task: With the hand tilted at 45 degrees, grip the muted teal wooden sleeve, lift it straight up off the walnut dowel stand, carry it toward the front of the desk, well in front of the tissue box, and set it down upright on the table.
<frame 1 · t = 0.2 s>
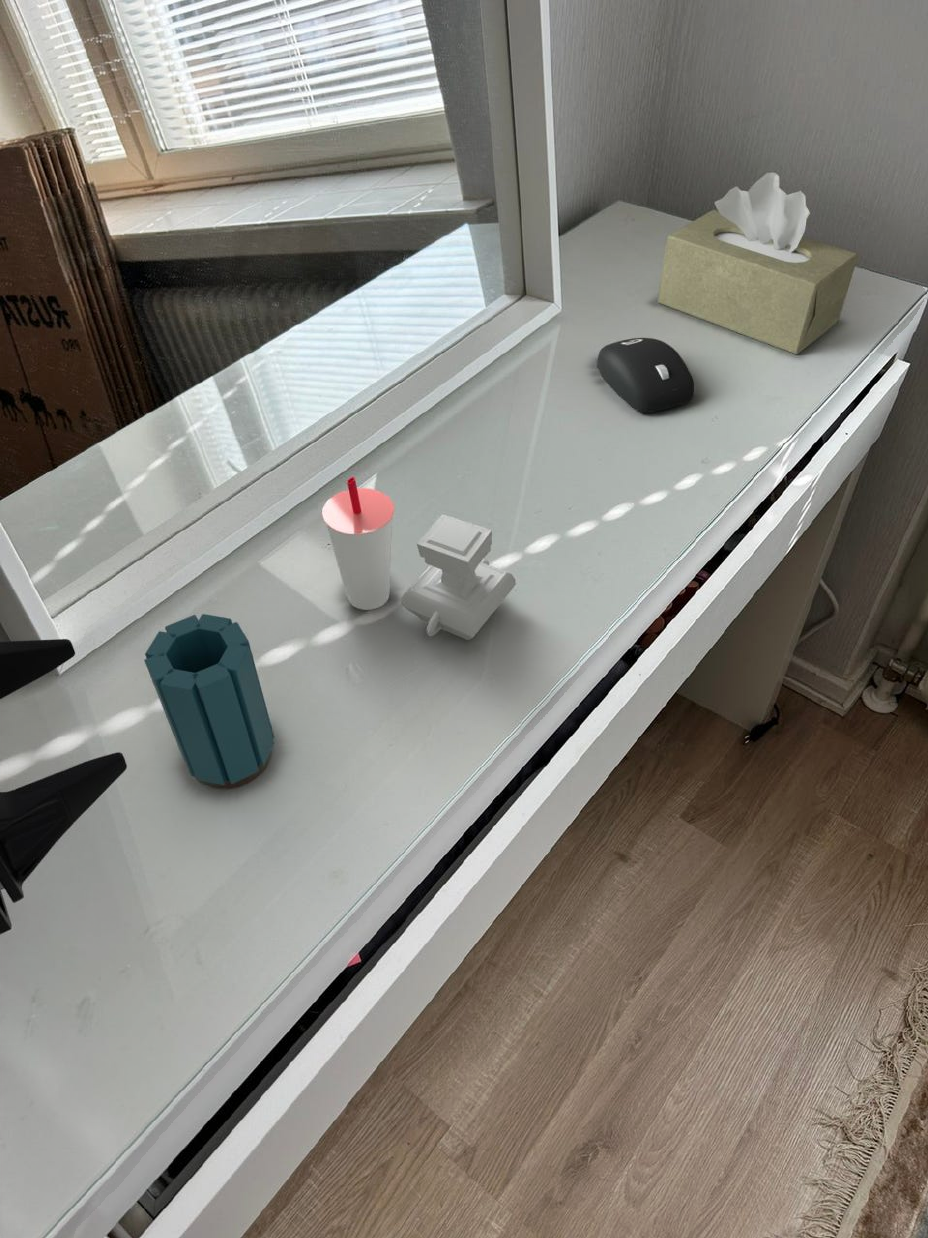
hand: (97, 700, 49), 14 cm above the table, tool horizontal, fingers open, 9 cm apart
stamp: (459, 618, 73), on the table
computer mouse: (639, 384, 97), on the table
dowel stand: (231, 755, 64), on the table
sleeve: (228, 747, 63), point 1 cm above the table, touching dowel stand
cup: (368, 596, 75), on the table
tissue box: (745, 314, 107), on the table
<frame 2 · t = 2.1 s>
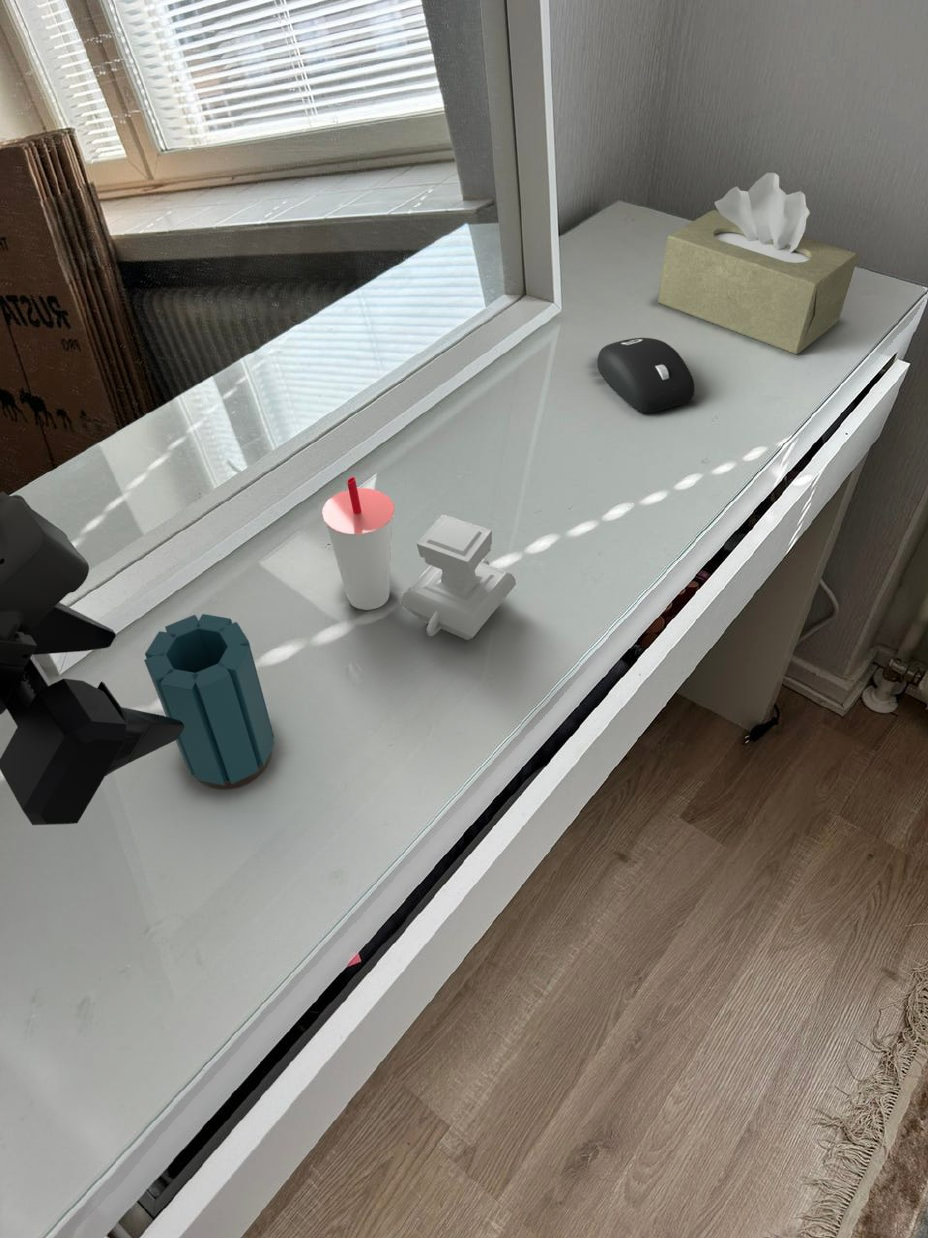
hand: (144, 682, 55), 11 cm above the table, tool tilted 45°, fingers open, 9 cm apart
nothing on the table moved.
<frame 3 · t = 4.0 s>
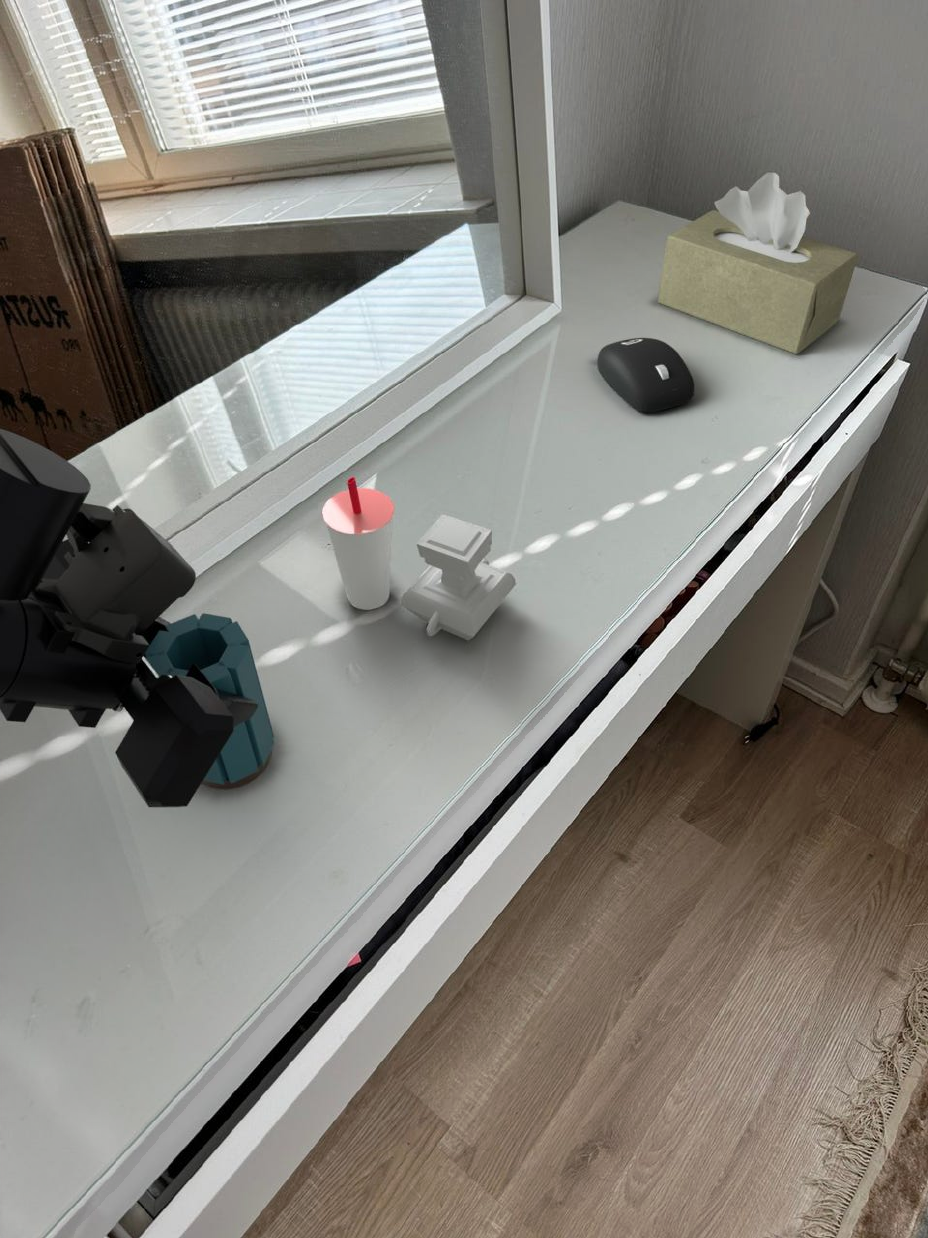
hand: (229, 680, 59), 7 cm above the table, tool tilted 45°, fingers closed on sleeve, 6 cm apart
sleeve: (228, 746, 63), point 1 cm above the table, touching dowel stand, gripper
everything else where it was.
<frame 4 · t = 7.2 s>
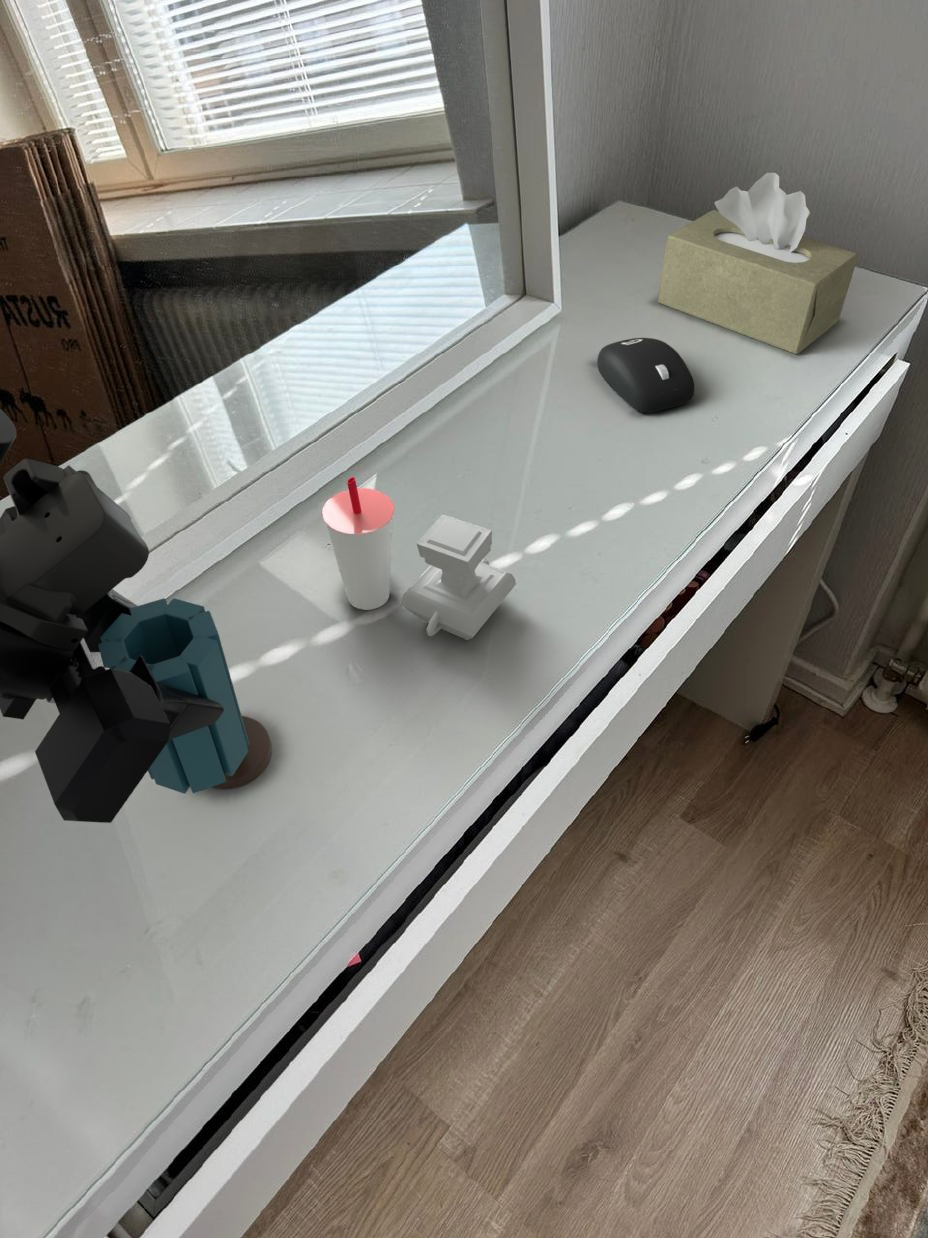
hand: (198, 677, 52), 13 cm above the table, tool tilted 45°, fingers closed on sleeve, 6 cm apart
sleeve: (197, 750, 56), point 7 cm above the table, touching gripper
everything else where it was.
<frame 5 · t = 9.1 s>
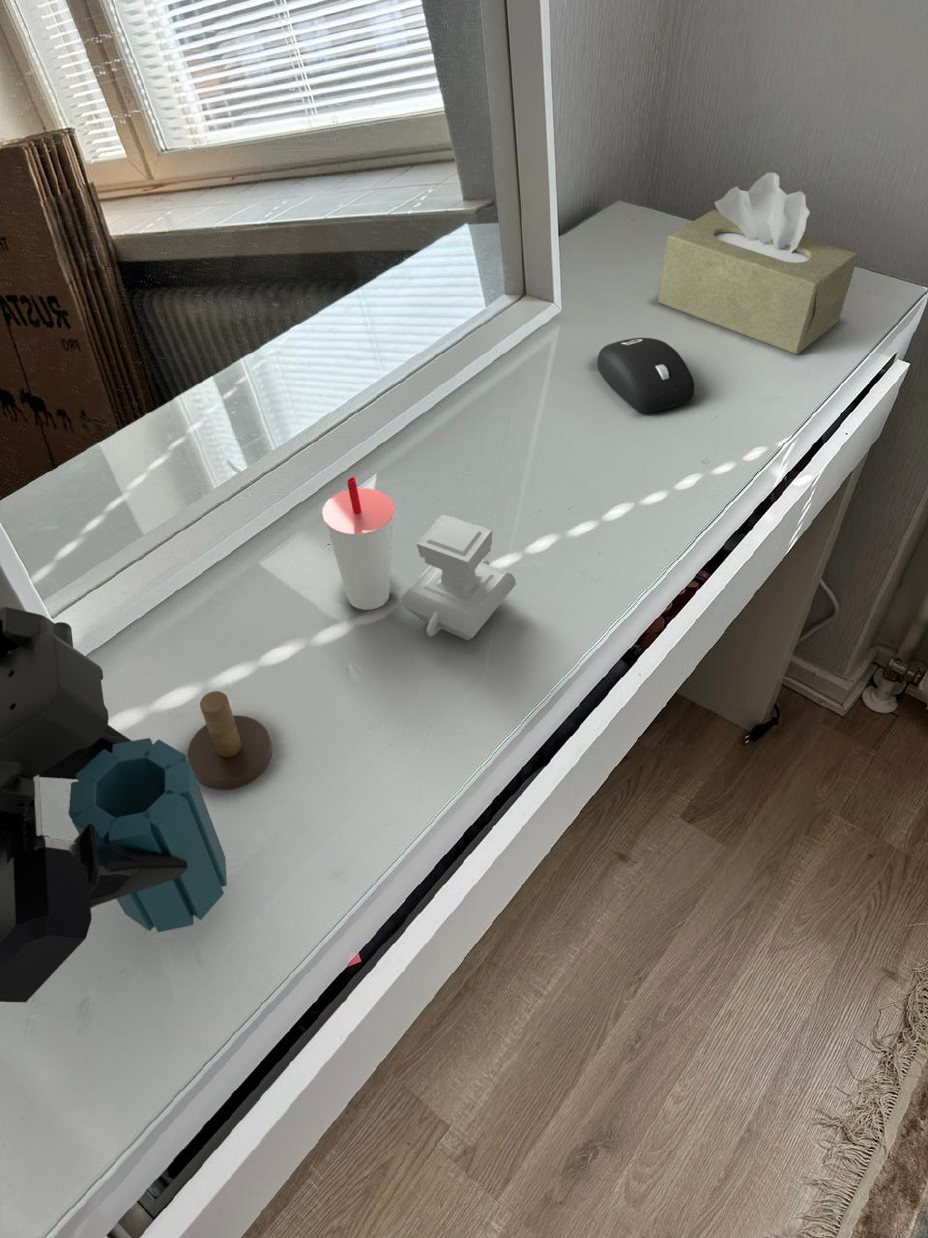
hand: (175, 820, 50), 9 cm above the table, tool tilted 45°, fingers closed on sleeve, 6 cm apart
sleeve: (174, 882, 54), point 3 cm above the table, touching gripper
everything else where it was.
when the fingers open (6 cm above the table, at t = 10.5 s): sleeve stays where it is, on the table.
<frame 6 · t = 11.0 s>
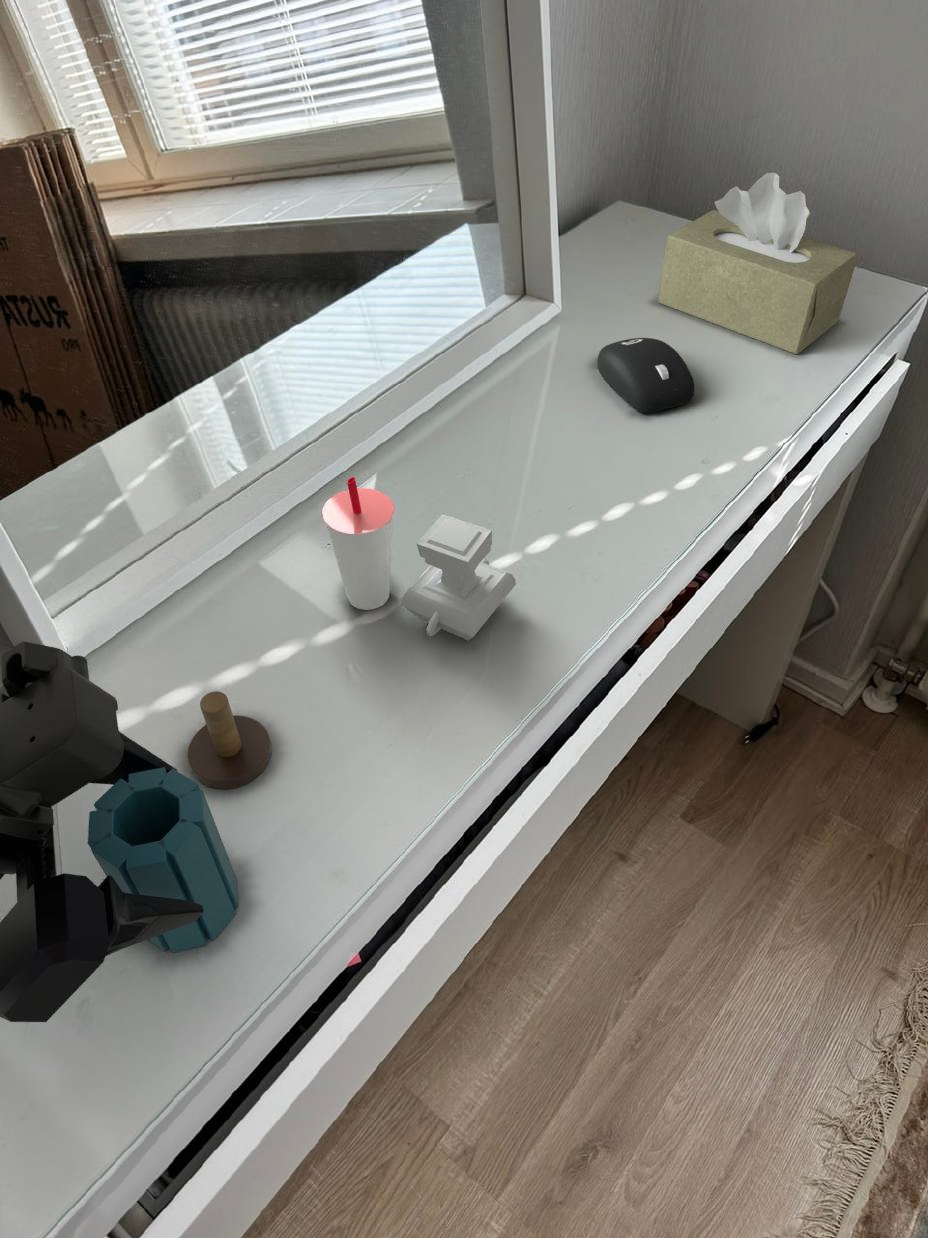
hand: (186, 842, 52), 7 cm above the table, tool tilted 45°, fingers open, 9 cm apart
sleeve: (188, 903, 56), on the table
everything else where it was.
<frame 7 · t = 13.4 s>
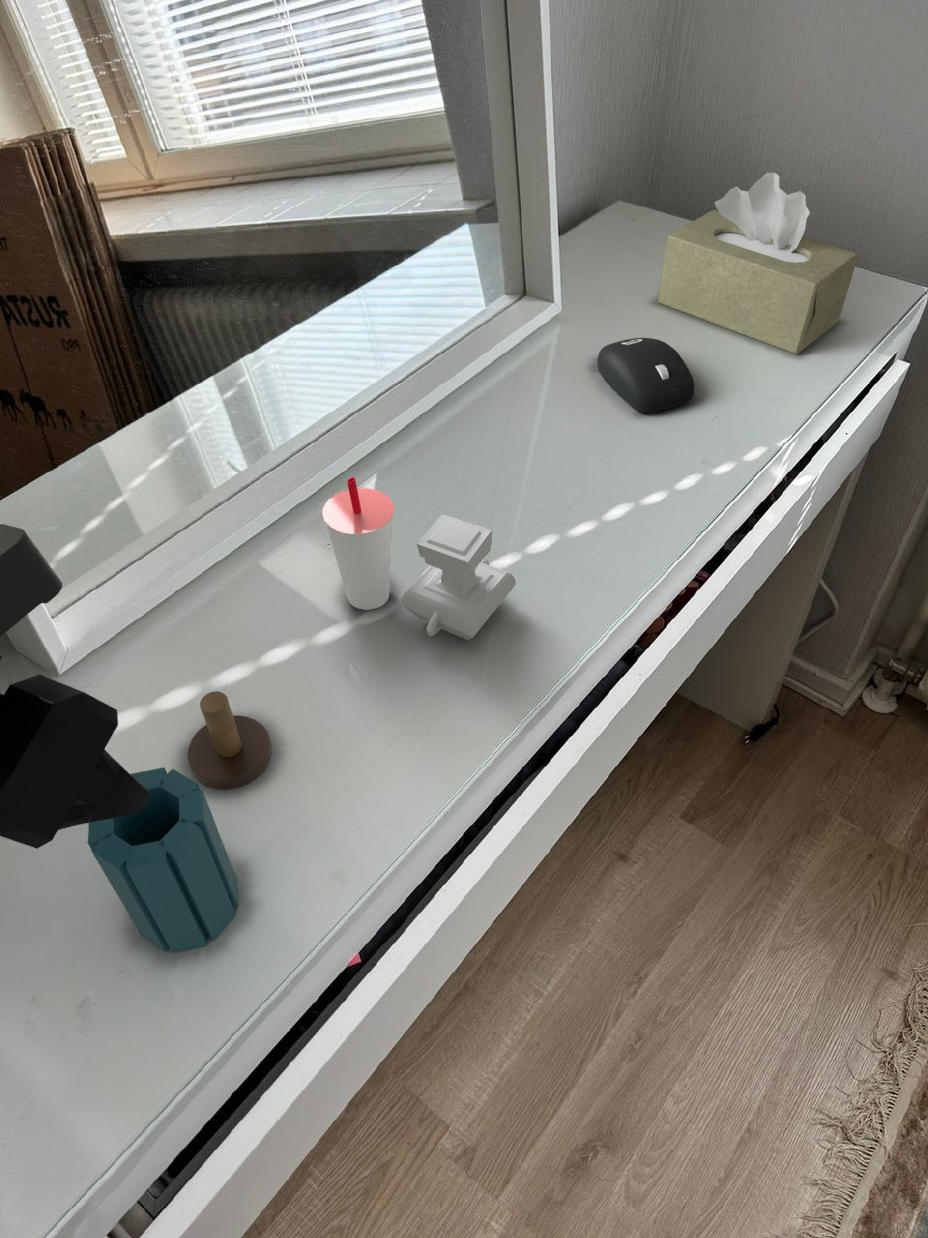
hand: (91, 777, 48), 12 cm above the table, tool tilted 30°, fingers open, 9 cm apart
nothing on the table moved.
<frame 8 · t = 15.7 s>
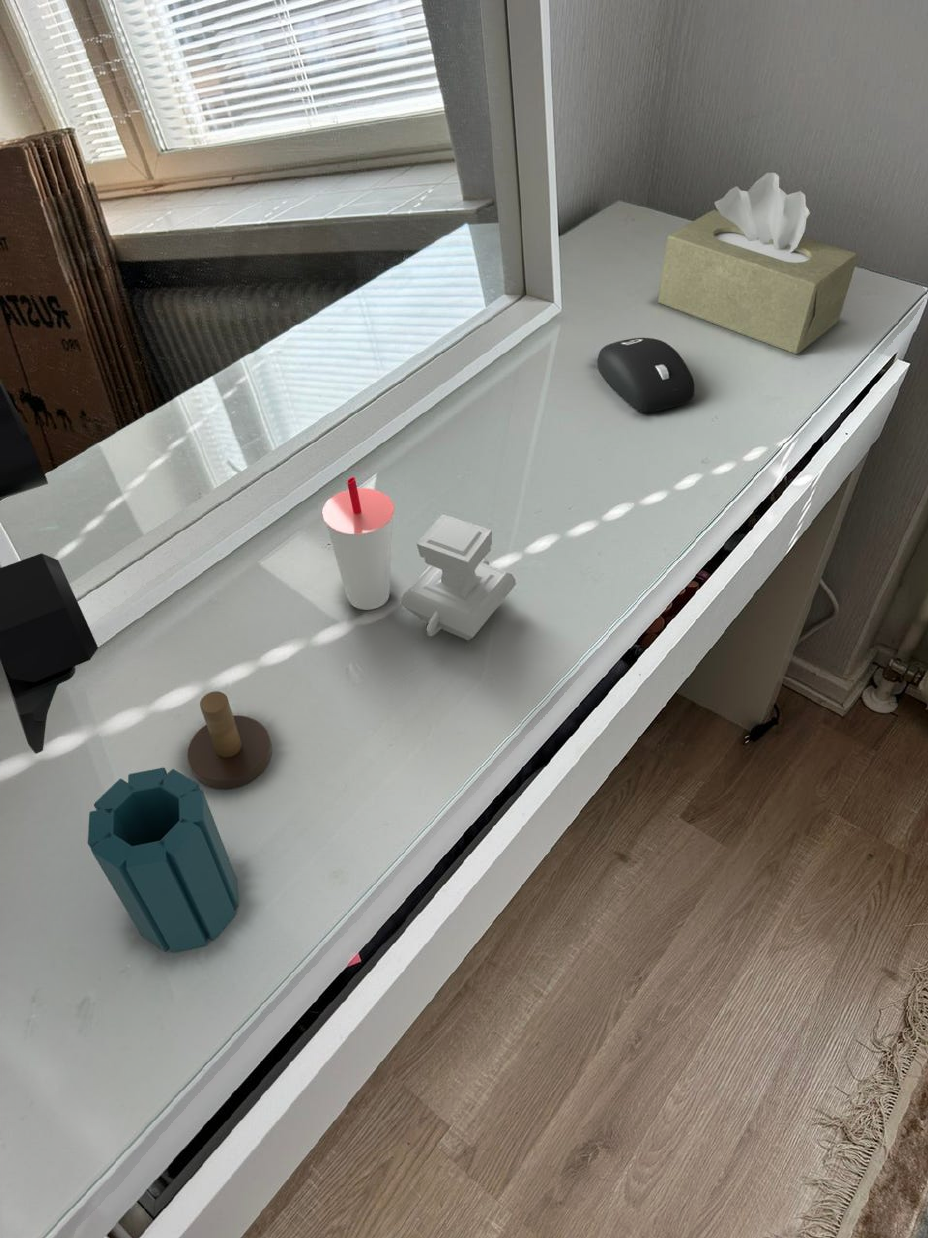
nothing on the table moved.
at the end: sleeve 0.1 cm from the target spot, on the table; sleeve tilted 0° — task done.
